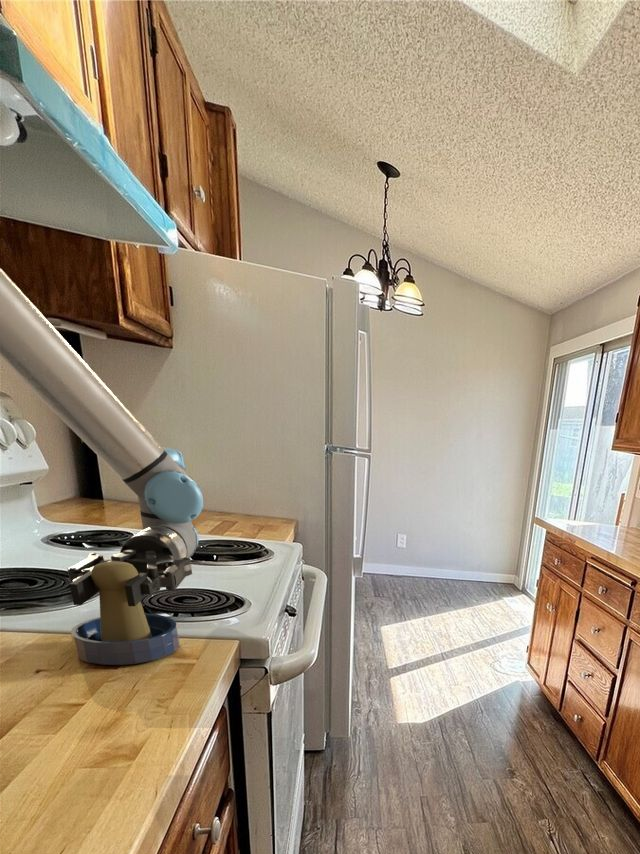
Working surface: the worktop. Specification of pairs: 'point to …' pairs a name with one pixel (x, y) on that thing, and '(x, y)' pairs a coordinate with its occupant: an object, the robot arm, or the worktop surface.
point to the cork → (118, 603)
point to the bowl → (125, 643)
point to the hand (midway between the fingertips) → (103, 595)
